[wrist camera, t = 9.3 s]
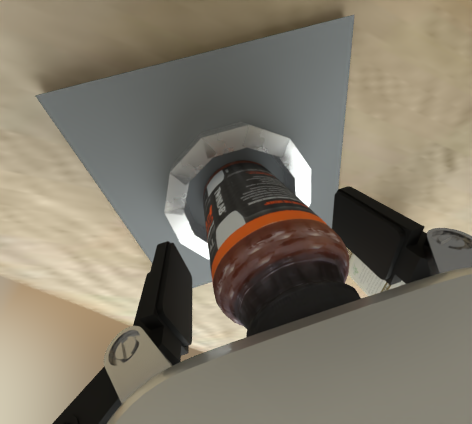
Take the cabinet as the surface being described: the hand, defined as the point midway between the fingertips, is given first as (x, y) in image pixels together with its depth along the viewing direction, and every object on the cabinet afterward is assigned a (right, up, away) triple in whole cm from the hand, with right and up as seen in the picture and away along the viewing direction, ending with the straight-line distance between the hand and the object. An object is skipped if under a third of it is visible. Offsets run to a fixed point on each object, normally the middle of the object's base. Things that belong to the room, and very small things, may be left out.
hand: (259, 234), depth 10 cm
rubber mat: (-1, +3, +5) cm, 6 cm away
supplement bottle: (-1, +3, +5) cm, 6 cm away
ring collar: (-1, +3, +5) cm, 6 cm away
